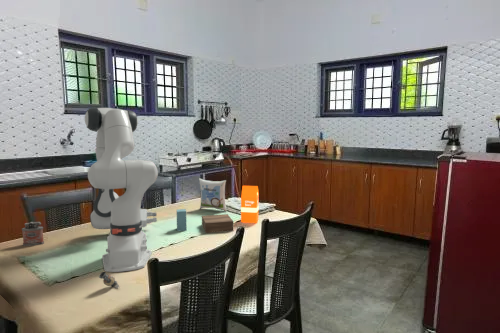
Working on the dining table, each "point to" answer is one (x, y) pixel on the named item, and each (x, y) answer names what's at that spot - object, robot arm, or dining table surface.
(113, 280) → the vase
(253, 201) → the orange juice
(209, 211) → the dining table surface
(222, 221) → the walnut base
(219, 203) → the pouch
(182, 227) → the teal block
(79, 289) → the dining table surface
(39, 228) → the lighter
